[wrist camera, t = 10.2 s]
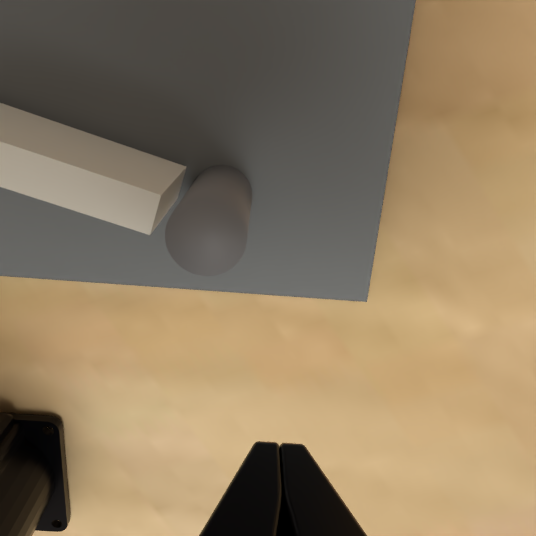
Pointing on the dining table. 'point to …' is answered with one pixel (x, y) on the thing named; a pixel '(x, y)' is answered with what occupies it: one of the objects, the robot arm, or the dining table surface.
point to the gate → (128, 189)
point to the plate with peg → (215, 130)
